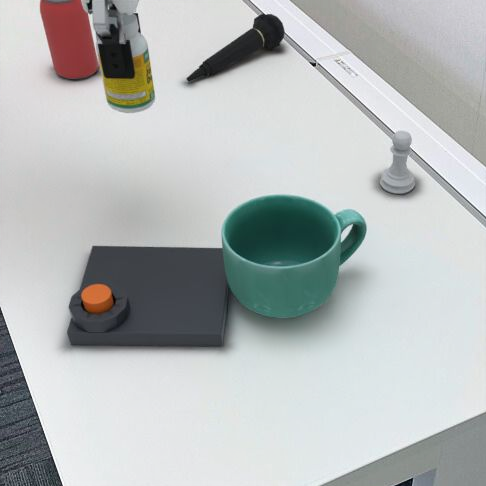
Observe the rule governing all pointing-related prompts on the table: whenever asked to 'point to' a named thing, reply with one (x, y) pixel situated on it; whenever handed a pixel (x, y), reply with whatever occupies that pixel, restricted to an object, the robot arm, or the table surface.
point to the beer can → (69, 38)
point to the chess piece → (399, 166)
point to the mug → (287, 252)
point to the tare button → (97, 299)
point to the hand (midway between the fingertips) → (124, 61)
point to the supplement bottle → (141, 86)
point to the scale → (153, 297)
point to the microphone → (244, 45)
